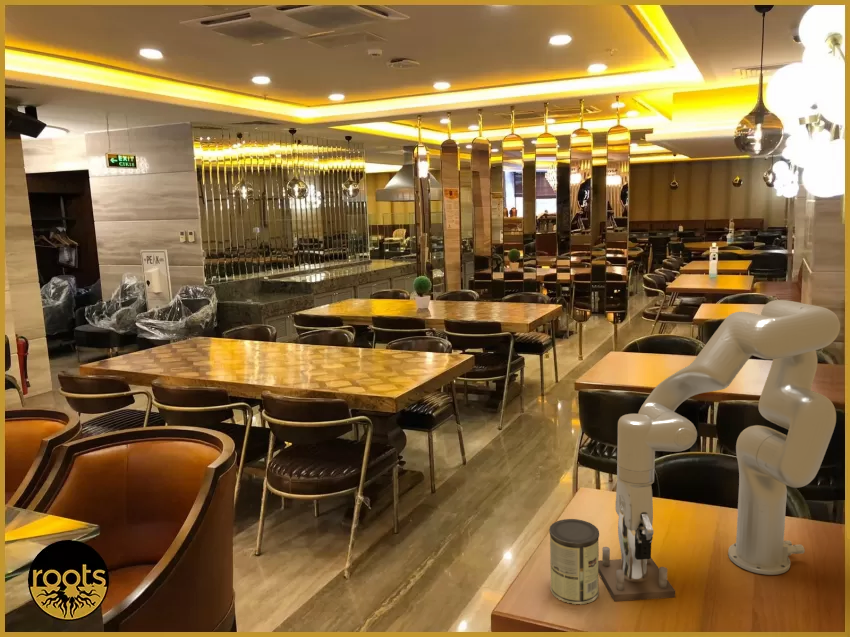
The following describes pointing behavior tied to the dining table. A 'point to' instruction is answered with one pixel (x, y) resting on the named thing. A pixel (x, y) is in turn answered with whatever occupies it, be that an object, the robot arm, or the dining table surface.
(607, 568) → the peg stand
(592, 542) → the coffee can
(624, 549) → the beer glass
